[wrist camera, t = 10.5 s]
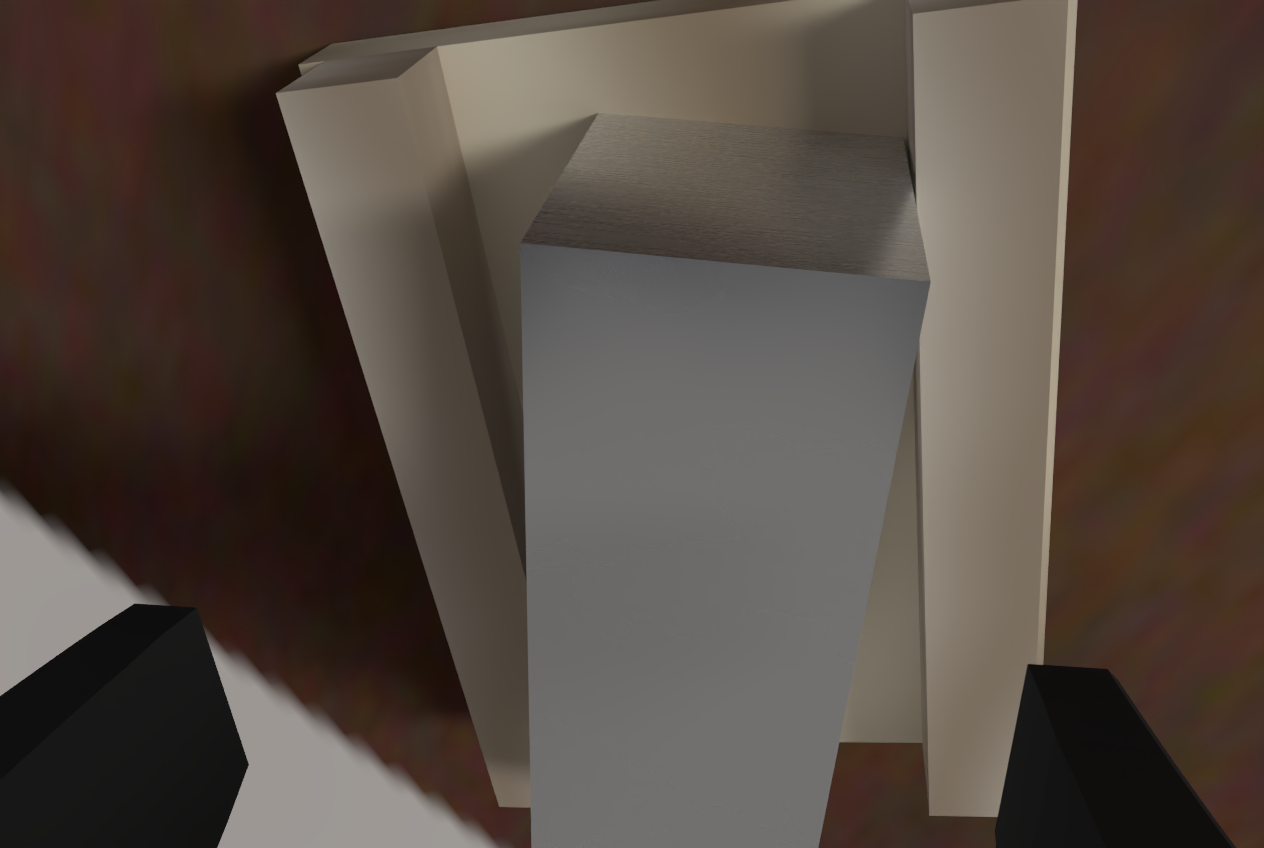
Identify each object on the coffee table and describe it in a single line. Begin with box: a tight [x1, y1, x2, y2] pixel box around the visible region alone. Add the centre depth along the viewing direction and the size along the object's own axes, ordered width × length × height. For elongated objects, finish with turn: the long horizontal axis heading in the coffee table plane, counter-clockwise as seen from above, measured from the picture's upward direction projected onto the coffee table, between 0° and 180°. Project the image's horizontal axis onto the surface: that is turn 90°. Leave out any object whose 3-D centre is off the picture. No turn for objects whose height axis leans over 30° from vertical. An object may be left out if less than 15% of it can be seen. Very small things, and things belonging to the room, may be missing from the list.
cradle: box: [276, 0, 1077, 817], centre depth 17 cm, size 10×13×3 cm
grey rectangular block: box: [520, 113, 931, 848], centre depth 15 cm, size 4×10×4 cm, turn 178°
